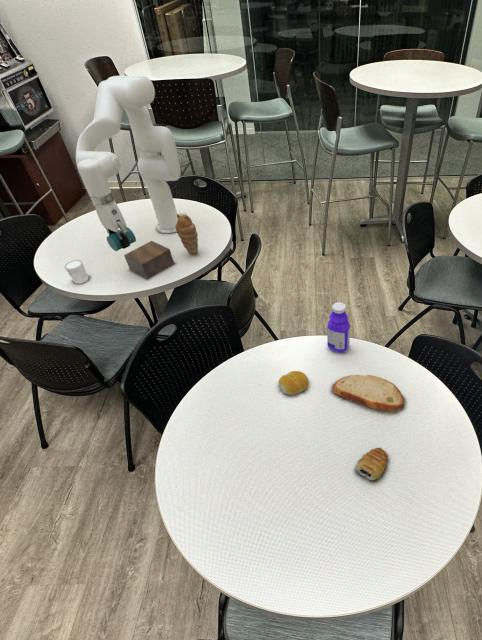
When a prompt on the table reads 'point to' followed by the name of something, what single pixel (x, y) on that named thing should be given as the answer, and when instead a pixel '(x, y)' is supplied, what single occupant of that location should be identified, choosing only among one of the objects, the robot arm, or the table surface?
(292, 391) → the bread roll
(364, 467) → the pastry
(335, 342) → the bottle
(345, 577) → the table surface
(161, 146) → the robot arm
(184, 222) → the brown ridged oblong lump
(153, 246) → the stand
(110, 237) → the drinking cup
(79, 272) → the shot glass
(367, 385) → the bread slice
